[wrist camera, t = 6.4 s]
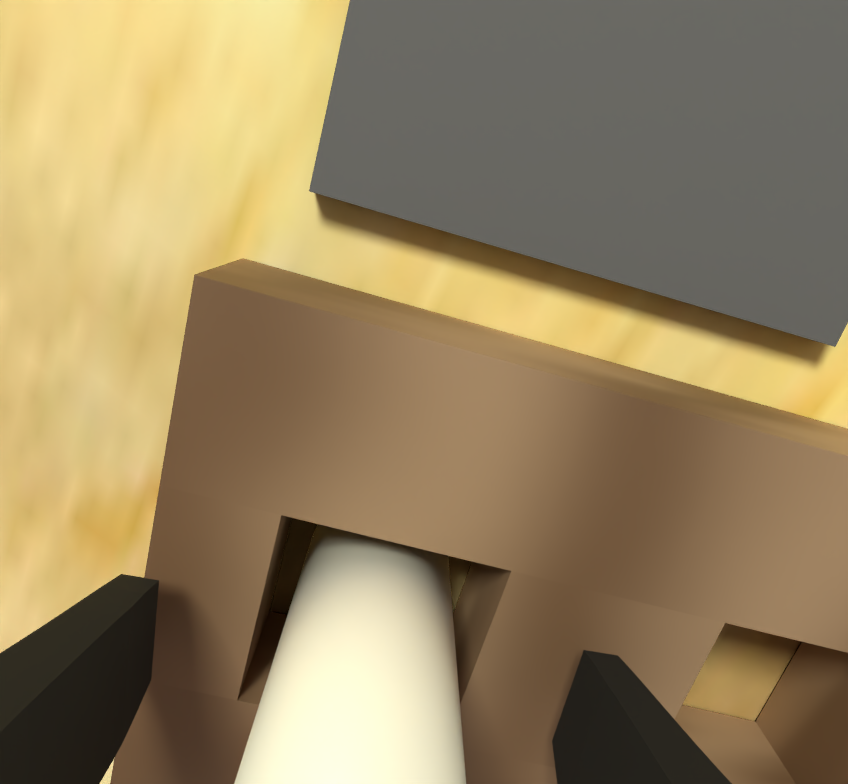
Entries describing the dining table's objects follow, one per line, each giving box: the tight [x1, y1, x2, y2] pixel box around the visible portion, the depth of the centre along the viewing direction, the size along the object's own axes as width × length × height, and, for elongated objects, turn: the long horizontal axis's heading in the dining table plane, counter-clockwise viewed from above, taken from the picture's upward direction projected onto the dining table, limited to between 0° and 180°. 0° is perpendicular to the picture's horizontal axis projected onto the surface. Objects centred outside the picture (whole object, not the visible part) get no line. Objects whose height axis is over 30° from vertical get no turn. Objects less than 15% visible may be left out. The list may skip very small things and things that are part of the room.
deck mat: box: [309, 0, 848, 347], centre depth 10 cm, size 10×8×1 cm
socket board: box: [110, 259, 848, 784], centre depth 12 cm, size 16×11×3 cm
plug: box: [234, 524, 466, 784], centre depth 9 cm, size 3×3×9 cm
